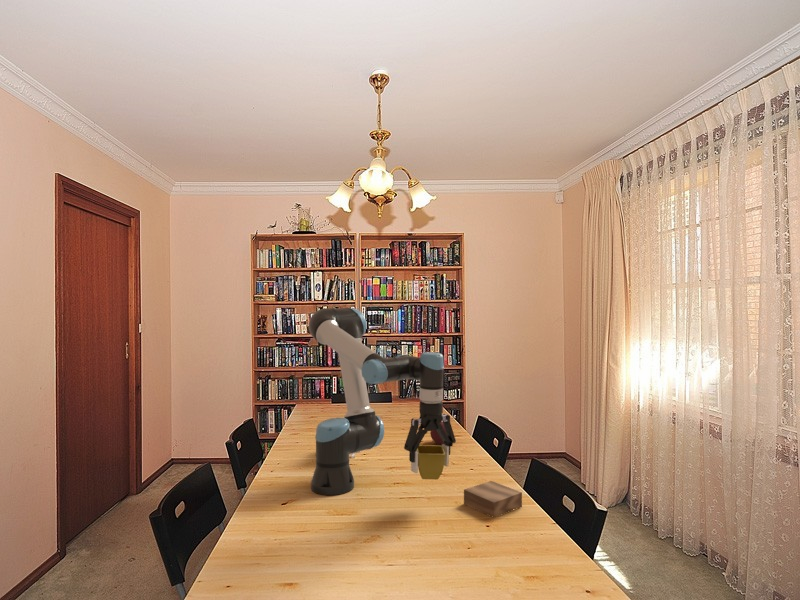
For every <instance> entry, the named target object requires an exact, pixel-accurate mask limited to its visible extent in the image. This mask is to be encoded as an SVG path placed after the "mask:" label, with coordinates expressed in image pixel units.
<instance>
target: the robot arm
mask: <svg viewBox="0 0 800 600" xmlns="http://www.w3.org/2000/svg"><path fill="white" fill-rule="evenodd" d="M308 330H309V334H310V335H311V337H312V339H314V340H315V341H316V342H318V343H319V344H321V345H325V346H328V347H329V348H331V350H333V351H335V352H336V353H337V354H338V359H339V366H340V367H339V368H340V372H341V379H342V385H343V391H344V398H345V404H346V410H347V411H346V412H345V415H344V417H335V418H334V417H332V418H329V419H325V420H323V421H321V422H320V423H318V425H316V430H315V468H314V469H315V470H314V471H313V474H312V478H311V482H310V489H311V491H312V492H313V493H315V494H317V495H323V496H335V495H343V494H346V493H349V492H351V491H352V490H353V489H354V488H355V478H354V475H353V472H352V469H351V467H350V455H351V454H352V453H355V454H356V452H357V453H360V452H362V451H369V450H371V449H373V448H375V447H378V446H379V445H380V444H382V441H383V440H384V437H385V424H384V421H383V420H382V418H381V417H380V416H378V415H376V410H375V409H373V408H372V407H371V405H370V399H369V392H368V388H367V384H370V385H373V384H375V385H379V384H382V383H388V382H389V383H390V382H396V381H404V380H415V381H419V400H420V401H419V406H418V407H419V410H418V411H419V418H411V419H410V428H409V430H408V434H407V436H406V437H407V438H406V440H405V443H404V446H403V449H404V450H406V451H407V452H409V457H408V459H409V462H410V471H411V472H412V473H414V474H419V468H418V452H416V450H417V448H418V446H419V445H421V443H422V441H423V439H424V437H425V435H426V434H428V432H430V431H431V430H437V432H438V434H439V435H440V437H441V439H442V440H443V442H444V444H441V446H442V447H443V449H444V452H445V461H444V467H449V465H450V463H449V462H450V461H449V460H450V459H449V457H450V455H451V447H453V446H454V444H455V443H456V441H457V440H456V437H455V432H454V430H453V427H452V424H451V415H449V414H445V413H443V412H444V403H443V400H444V372H445V371H444V370H445V363H444V355H443V354H442V353H440V352H434V351H427V352H425V351H424V352H422V353H420V356H412V355H409V354H397V356H395V357H388V358H386V357H383V356H381V355H380V354H378V353H377V352H376V351H374V350H372V348H370V347H368V346H367V345H365V344H364V343H363V342H362V341H363V336H364V335H365V333H366V330H367V320H366V317H365V316H364V314H363V312H361V310H359V309H356V308H352V307H338V308H336V307H335V308H334V307H333V308H330V307H328V308H327V307H326V308H321V309H318V310H316V311H315V312H314V313H313V314H312V315H311V317H310V319H309V322H308ZM441 422H443V424H444V427H445V430H446V433H445V432H444V430H443V427H442V425H441V424H440V423H441ZM446 434H447V435H446ZM359 451H360V452H359Z"/></svg>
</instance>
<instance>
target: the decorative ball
mask: <svg viewBox="0 0 800 600" xmlns="http://www.w3.org/2000/svg"><path fill="white" fill-rule="evenodd" d="M440 424H441V425H442V427H443V430H444V432H445V433H446V430H445V427H444V424H443V421H441V423H440ZM429 433H430V438H431V439H432V441H433V442H434V443H436V444H438V445H443V444H444V442H443V440H442V439H441V437H440V435H439V434H438V432H437V430H431V431H429ZM446 435H447V434H446ZM444 445H445V444H444Z"/></svg>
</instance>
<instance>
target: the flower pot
mask: <svg viewBox="0 0 800 600" xmlns="http://www.w3.org/2000/svg"><path fill="white" fill-rule="evenodd" d="M416 452H418V474H419V475H420V478H421V479H422V480H433V481H434V480H437V481H438V480H439V479H440V477H441V476H442V475H443V470H444V467H445V466H444V461H445V452H444V449H443V447H442V445H432V444H431V445H430V444H429V445H424V444H423V445H421V444H420V445H419V446H418V448H417V450H416Z"/></svg>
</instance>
